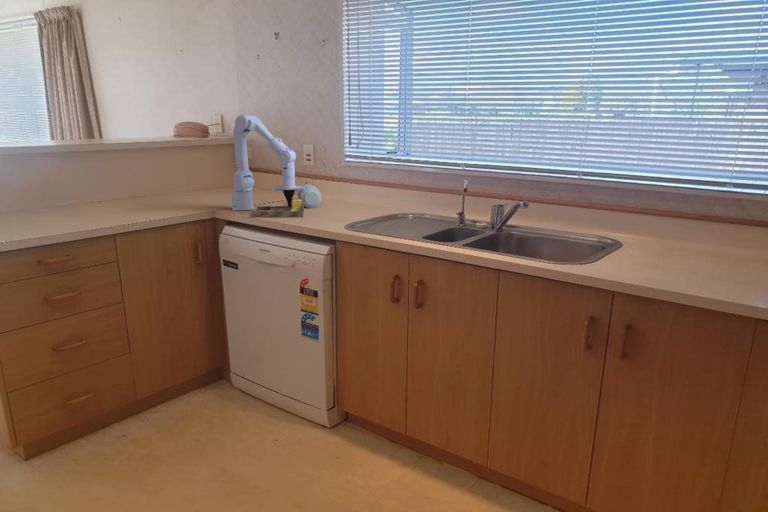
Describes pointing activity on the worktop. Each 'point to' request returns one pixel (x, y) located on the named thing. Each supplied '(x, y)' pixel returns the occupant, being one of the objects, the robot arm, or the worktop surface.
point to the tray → (278, 211)
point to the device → (310, 196)
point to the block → (296, 204)
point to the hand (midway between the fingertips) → (289, 206)
